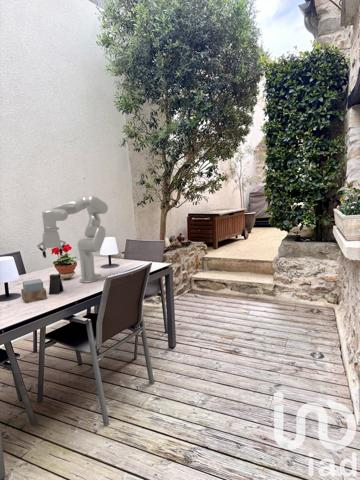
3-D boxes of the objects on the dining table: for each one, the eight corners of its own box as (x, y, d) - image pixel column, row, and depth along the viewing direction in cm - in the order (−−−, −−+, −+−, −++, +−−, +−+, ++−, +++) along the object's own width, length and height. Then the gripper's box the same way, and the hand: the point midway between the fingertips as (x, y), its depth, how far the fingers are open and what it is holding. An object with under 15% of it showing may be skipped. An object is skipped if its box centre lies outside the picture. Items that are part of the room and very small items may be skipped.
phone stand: (55, 290, 201) (53, 272, 199) (63, 290, 201) (62, 272, 199) (48, 294, 192) (47, 276, 191) (58, 294, 192) (56, 276, 190)
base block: (42, 294, 194) (41, 285, 193) (46, 299, 184) (46, 289, 183) (22, 298, 187) (21, 289, 186) (25, 303, 177) (24, 294, 176)
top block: (40, 286, 191) (40, 278, 191) (43, 289, 183) (42, 281, 182) (23, 289, 186) (22, 281, 185) (25, 293, 178) (24, 285, 177)
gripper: (62, 228, 198) (65, 253, 200) (34, 230, 188) (37, 257, 190) (66, 229, 192) (68, 255, 194) (36, 231, 182) (39, 259, 184)
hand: (53, 256), depth 192 cm, fingers open, 9 cm apart
